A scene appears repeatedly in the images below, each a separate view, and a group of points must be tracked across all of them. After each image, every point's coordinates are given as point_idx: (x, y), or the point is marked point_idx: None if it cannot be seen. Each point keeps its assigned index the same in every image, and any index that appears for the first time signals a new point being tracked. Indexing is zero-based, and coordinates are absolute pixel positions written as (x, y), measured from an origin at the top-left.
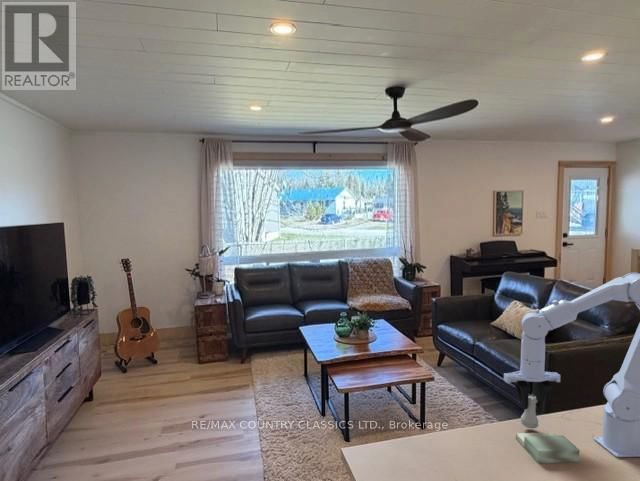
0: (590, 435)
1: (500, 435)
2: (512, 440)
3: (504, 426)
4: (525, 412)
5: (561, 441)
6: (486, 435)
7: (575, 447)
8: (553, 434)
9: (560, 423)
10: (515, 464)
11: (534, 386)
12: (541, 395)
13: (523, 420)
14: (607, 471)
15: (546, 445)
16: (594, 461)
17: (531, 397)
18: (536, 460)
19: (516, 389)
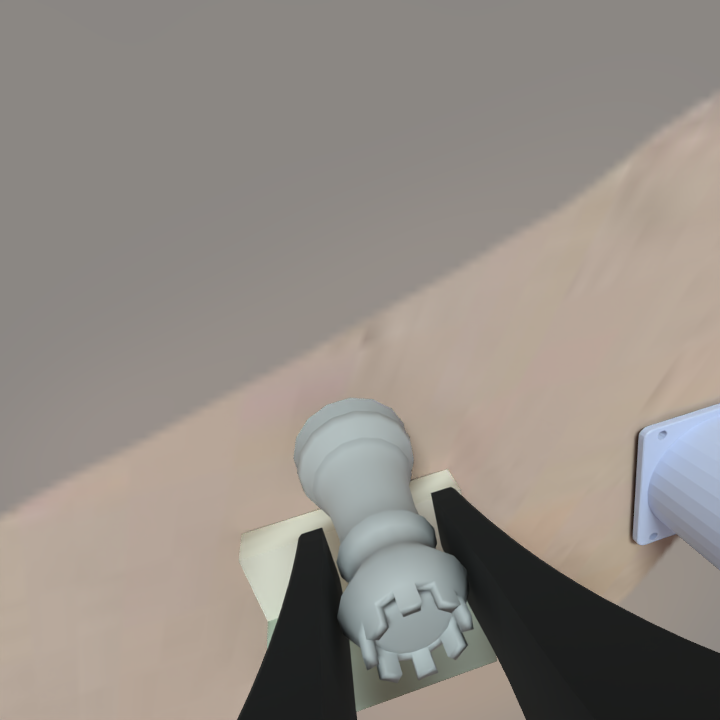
0: (648, 392)
1: (156, 526)
2: (221, 550)
3: (193, 422)
4: (330, 516)
5: None
6: (67, 550)
7: (489, 652)
8: None
9: (569, 295)
10: (204, 701)
11: (544, 669)
12: (524, 713)
13: (307, 495)
14: None
15: (360, 681)
16: None
17: (416, 629)
18: None
19: (241, 713)
